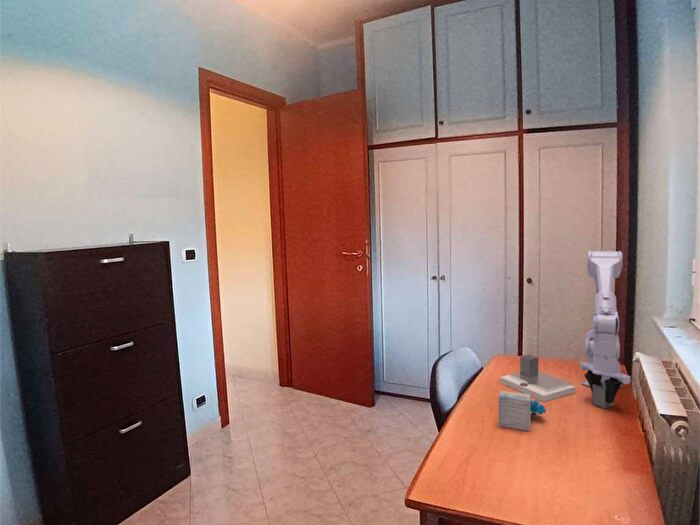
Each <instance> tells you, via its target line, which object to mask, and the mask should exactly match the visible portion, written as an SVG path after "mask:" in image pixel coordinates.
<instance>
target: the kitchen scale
mask: <svg viewBox="0 0 700 525" xmlns="http://www.w3.org/2000/svg"><path fill="white" fill-rule="evenodd" d="M499 383H500V384H502V385H504V386H506V387H508V386H509V387H508V388H510V389H513V390H515V389H516V390H515V391H518V392H519V393H522V394H529V395H531V398H534V399H535V400H537V401H539V402H543V403H544V402H549V401H552V400H556V399H559V398H562V397H567V396H569V395H573V394H576V385H575V386H574V385H573V384H572V382H570V381H568V380H565V379H561V377H560V378H559V377H557V376H554V375H551V374H548V373H546V372H542V371H541V370H538V375H537V376H533V377H527V376H525V375H522V374H520V371H519V372H515V373H511V374H507V375H503V376H500V377H499Z"/></svg>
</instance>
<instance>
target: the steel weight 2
mask: <svg viewBox="0 0 700 525" xmlns="http://www.w3.org/2000/svg"><path fill="white" fill-rule="evenodd" d="M591 395H592V397H591V398H592V400H591V402H592V404H593V406H597V407H599V408H602V409H608V408H611V407H614V406H615V401H614V402H612V403H607V390H606V385H605V383H604V382H599V383H595V384H593V392H591Z"/></svg>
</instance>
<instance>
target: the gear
mask: <svg viewBox="0 0 700 525" xmlns="http://www.w3.org/2000/svg"><path fill="white" fill-rule="evenodd" d="M546 412H547V409H546V407H545V405H543V404H540V400H538V399H534V400H533V401H532V400H531V414H533V415H537V414H539V415H543V414H546Z"/></svg>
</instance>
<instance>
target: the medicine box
mask: <svg viewBox="0 0 700 525" xmlns="http://www.w3.org/2000/svg"><path fill="white" fill-rule="evenodd" d="M531 398H532V397H531V395H529V394H524V393H522V392H513V391H505V390H500V391H499V395H498V427H502V428H508V429H513V430H519V431H526V432H530V429H531V414H532V412H531V401H532V399H531Z"/></svg>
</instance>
